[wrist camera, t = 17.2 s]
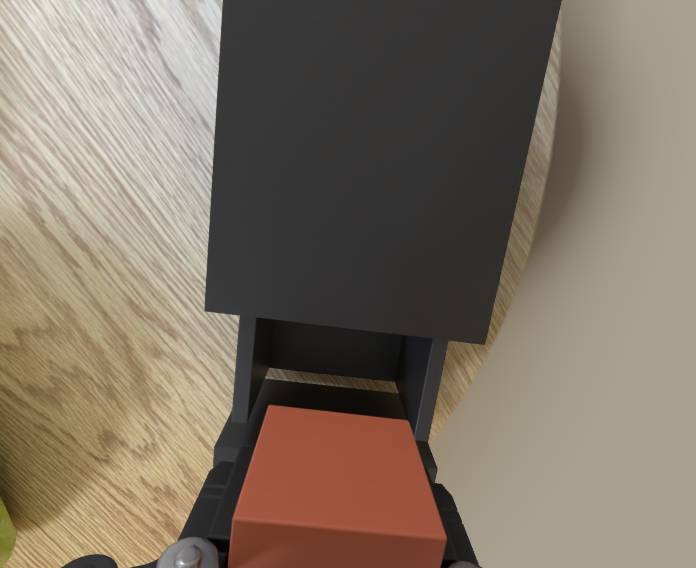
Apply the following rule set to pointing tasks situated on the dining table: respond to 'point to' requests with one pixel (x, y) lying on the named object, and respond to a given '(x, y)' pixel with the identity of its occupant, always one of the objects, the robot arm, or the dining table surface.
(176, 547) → the robot arm
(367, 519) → the block
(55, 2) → the dining table surface
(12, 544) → the lettuce
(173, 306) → the dining table surface
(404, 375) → the pull-out drawer
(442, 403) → the dining table surface
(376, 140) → the black drawer unit
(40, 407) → the dining table surface
